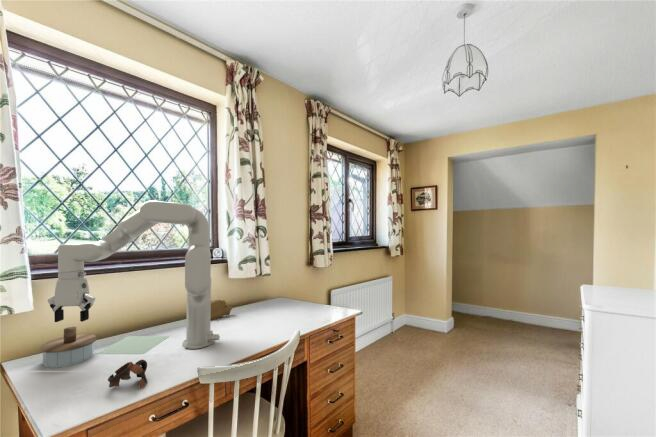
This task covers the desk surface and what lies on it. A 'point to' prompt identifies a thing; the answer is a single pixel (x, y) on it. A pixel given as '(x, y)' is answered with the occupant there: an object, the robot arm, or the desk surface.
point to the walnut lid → (68, 341)
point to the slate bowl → (67, 357)
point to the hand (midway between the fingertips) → (71, 320)
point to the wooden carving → (219, 309)
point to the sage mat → (134, 345)
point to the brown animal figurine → (125, 370)
